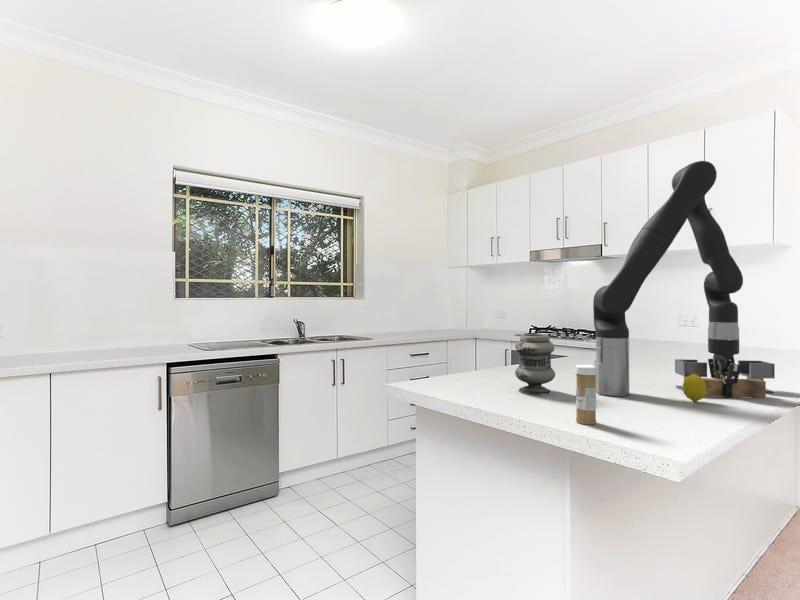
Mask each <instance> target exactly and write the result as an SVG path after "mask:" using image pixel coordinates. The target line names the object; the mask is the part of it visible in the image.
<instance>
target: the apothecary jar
mask: <svg viewBox="0 0 800 600" xmlns="http://www.w3.org/2000/svg"><path fill="white" fill-rule="evenodd" d="M549 337H550V336H549V335H548V334H546V333H523V334H521V335H520V339H519V341H517V342H516V343H515V350H516V352H518V354H519V356H518V357H519V359H518V367H517V368H516V369H515V372H514V375H515V377H516V378H517V379H518V380H519V381H521V382H522V383H526V384H527V385H523V387H520V388H518V392H520V393H521V392H523V393H522V394H525V393H527V394H526V395H536V394H540V395H539V396H542V395H541V394H547V395H550V394H549V393H551V394H552V390H551V389H549V388H547V387H545V386H542V385H544V384H547V383H550V382H552V381H553V380H554V379H555V377H556V372H555V370H554V369H553V368H552V364H551V363H552V361H551V358H552V357H551V356H552V355H551V354H552V353H553V352H554V351H555V345H554V343H553V342H551V341H550V338H549Z"/></svg>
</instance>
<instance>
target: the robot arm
mask: <svg viewBox="0 0 800 600" xmlns="http://www.w3.org/2000/svg"><path fill="white" fill-rule="evenodd" d="M717 173H718V172H717V169H716V166H715V165H714V164H713V163H712V162H709V161H706V160H699V161H694V162H692V163H690V164H688V165H686V166H684V167H682V168H681V169H679V170H678V171H676V173H675V174H674V175H673V177H672V179H671V187H672V190H673V191H672V193H671V195H670V196H669V198H668V199H667V200H666V201H665V202H664V204H662V206H661V207H659V208H658V209H657V210H656V211H655V213H654V214H653V215H652V216H651V217H650V218H649V219H648V220H647V221H646V222H645V224H643V226H642V227H641V229H640V230H639V231H638V234H637V235H636V237H634V239H633V241H632V243H631V245H630V247H629V249H628V252H627V255H626V258H625V261H624V262H623V264H622V267H621V268H620V270H619V272H618V273H617V274H616V275H615V276H614V278H613V279H612V280H611V281H610V283H609V284H608V285H604V286H601V287H599V288H598V289H597V290H596V292H595V294H594V296H593V300H592V301H593V303H592V304H593V306H592V307H593V325H594V329H595V360H594V361H593V366H596V394H598V395H603V396H613V397H614V396H615V397H625V396H629V395H630V330H629V327H628V325H627V321H626V312H627V311H628V310H629V309H630V308H631V306H632V304H633V302H634V301H635V299H636V296H637V295H638V293H639V291H640V289H641V287H642V285H643V283H644V282H645V280H646V279H647V278H648V276H649V275H650V274H651V273H652V271H653V270H654V269H655V268H656V266H657V265H658V263H659V262H660V260H661V259H662V258H663V257H664V255H665V254H666V252H667V251H668V249H669V248H670V246H671V245H672V244H673V242H674V240H675V239H676V237H677V235H678V234H679V232H680V231H681V229H682V227H683V226H684V224H685V223H686V221H688V223H689V225H690V228H691V230H692V233H693V236H694V240H695V242H696V246H697V248H698V249H697V250H698V253H699V256H700V258H701V261H702V263H704V264H705V265H708V266H709V267H710V269H711V270H712V271H711V272H709V273H708V274H706V276H705V278H704V280H703V291H704V294H705V295H704V296H705V299H706V303H707V305H708V327H707V351H708V353H709V354H713V356H712V358H708V359H707V364H708V368H709V375H710V377H711V378H722V382H723V396H724V397H723V398H730V397H732V384H734V383H737V382H738V379H739V377H740V375H739V373H740V368H741V366H740V365H738V363H737V364H736V363H735V361H736V360H735V357H734V356H735V355H739V354H740V328H739V309H738V305H737V304H736V303H735V302H733V301H732V300H731V295H730V294H735V293H737V292H739V291H740V290H741V289H742V287H743V285H744V277H743V274H742V271H741V269H740V268H739V266H738V264H737V263H736V260H735V259H734V258H733V257H732V255H731V253H730V249H729V246H728V243H727V240H726V237H725V236H726V235H725V234H724V231H723V229H722V227H721V226H720V224H719V223H718V222H717V220H716V219H715V218H714V215H712V213H711V212H710V209H709V208H708V206H707V203H706V200H705V198H706V197H705V196H706V195H707V193H709V191H710V190H712V188H713V186H714V184H715V183H716V180H717V176H718V175H717Z"/></svg>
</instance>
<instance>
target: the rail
mask: <svg viewBox="0 0 800 600" xmlns="http://www.w3.org/2000/svg"><path fill="white" fill-rule="evenodd" d="M701 378H702V379H703V380H704V381H705V384H706V395H705V396H723V382H722V378H710V377H701ZM684 380H685V378H684V377H683V381H684ZM766 383H767V382H766V381H765V380H764V381H762V380H759V379H747V378H738V382H737V383H734V384H732V397H751V398H750V399H764V398H766V397H767V393H766V389H767V388H766V387H767V385H766Z"/></svg>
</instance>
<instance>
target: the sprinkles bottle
mask: <svg viewBox="0 0 800 600" xmlns="http://www.w3.org/2000/svg"><path fill="white" fill-rule="evenodd" d="M575 375H576V382H575V383H576V390H575V400H576V401H575V402H576V403H575V407H576V409H575V410H576V413H575V414H576V417H575V422H576V423H579V424H580V425H595V424H597V420H596V418H597V416H596V415H597V412H596V411H597V392H596V366H594V364H593V365H591V364H577V365H576V366H575Z"/></svg>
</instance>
